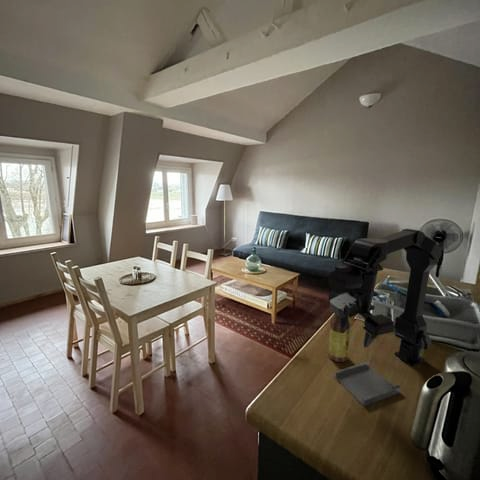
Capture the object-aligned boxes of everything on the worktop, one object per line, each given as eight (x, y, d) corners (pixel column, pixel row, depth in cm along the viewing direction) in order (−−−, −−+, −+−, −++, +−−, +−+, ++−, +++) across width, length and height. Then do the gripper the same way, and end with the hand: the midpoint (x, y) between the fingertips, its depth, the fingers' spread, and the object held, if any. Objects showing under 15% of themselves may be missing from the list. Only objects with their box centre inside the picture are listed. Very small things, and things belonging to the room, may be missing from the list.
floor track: (367, 366, 84) (367, 361, 84) (400, 392, 73) (400, 387, 73) (333, 376, 80) (334, 371, 79) (363, 406, 69) (364, 400, 69)
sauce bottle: (349, 364, 85) (354, 307, 81) (329, 361, 86) (333, 305, 82) (345, 352, 91) (350, 298, 87) (326, 349, 93) (330, 297, 88)
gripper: (316, 275, 76) (310, 322, 81) (365, 307, 60) (354, 365, 64) (347, 272, 80) (340, 317, 84) (402, 301, 63) (389, 356, 67)
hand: (353, 336), depth 75 cm, fingers open, 9 cm apart
